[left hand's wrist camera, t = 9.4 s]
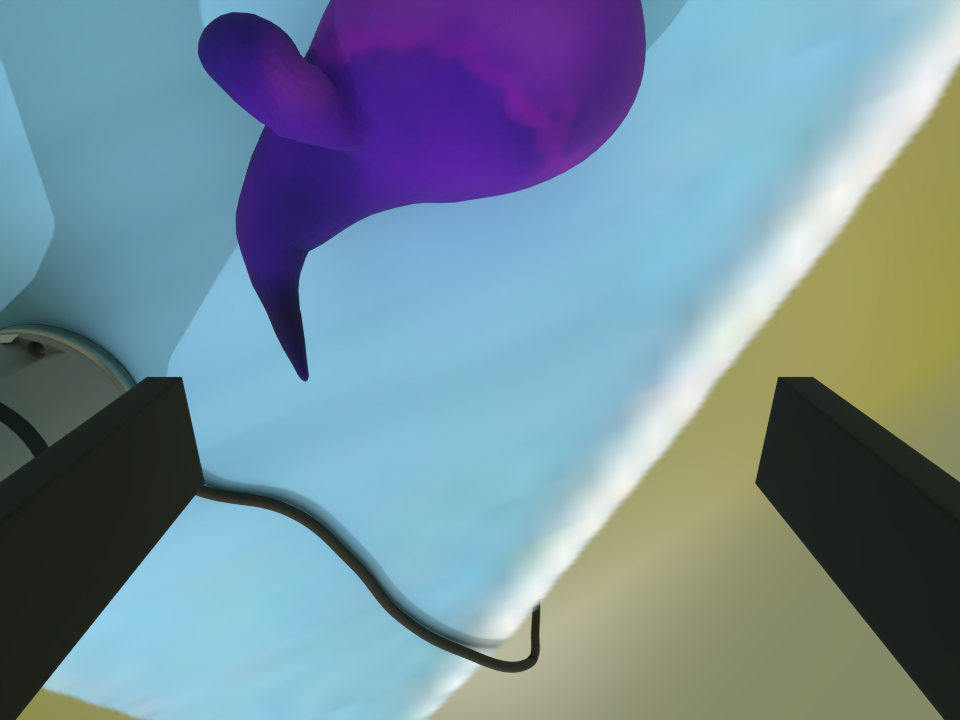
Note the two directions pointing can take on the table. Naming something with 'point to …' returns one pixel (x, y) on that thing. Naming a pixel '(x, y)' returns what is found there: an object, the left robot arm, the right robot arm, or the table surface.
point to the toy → (411, 115)
